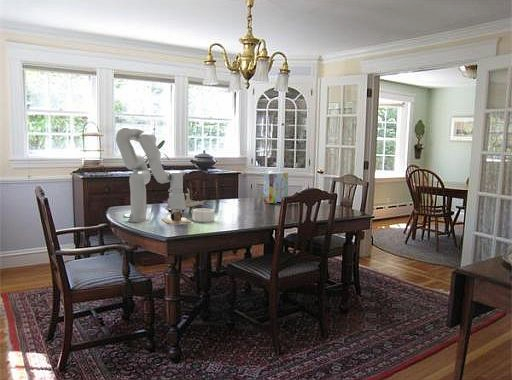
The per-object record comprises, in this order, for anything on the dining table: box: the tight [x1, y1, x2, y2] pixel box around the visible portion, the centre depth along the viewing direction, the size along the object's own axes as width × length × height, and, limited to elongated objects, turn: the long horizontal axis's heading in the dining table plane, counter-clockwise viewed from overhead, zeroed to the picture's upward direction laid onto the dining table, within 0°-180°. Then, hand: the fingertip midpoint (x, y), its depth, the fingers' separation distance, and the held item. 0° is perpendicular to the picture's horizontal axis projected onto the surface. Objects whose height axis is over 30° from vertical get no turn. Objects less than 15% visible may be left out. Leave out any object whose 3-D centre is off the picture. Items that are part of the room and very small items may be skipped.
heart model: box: [162, 197, 185, 214], centre depth 307 cm, size 15×9×18 cm
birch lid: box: [161, 210, 192, 226], centre depth 272 cm, size 15×15×6 cm
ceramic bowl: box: [191, 207, 215, 223], centre depth 280 cm, size 13×13×7 cm
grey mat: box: [159, 219, 195, 226], centre depth 272 cm, size 18×18×1 cm
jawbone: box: [184, 187, 206, 208], centre depth 333 cm, size 25×10×14 cm, turn 52°
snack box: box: [262, 171, 289, 204], centre depth 366 cm, size 22×9×26 cm, turn 130°
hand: (176, 219), depth 272 cm, fingers closed on birch lid, 4 cm apart
